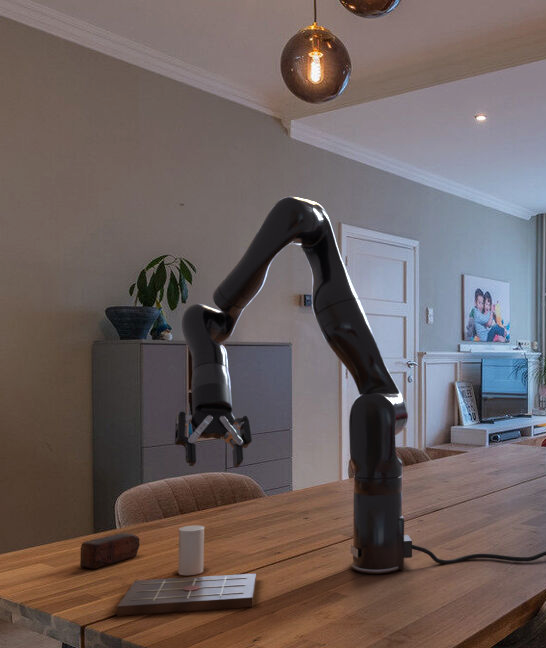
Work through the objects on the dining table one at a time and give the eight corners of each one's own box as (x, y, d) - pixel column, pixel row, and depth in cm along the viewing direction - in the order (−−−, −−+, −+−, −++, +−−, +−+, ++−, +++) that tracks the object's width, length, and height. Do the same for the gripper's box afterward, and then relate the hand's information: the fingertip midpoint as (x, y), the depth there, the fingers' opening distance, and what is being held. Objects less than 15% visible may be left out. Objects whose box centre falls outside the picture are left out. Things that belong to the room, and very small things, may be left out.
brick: (94, 570, 134) (95, 544, 135) (79, 567, 136) (80, 542, 136) (139, 556, 144) (140, 532, 144) (124, 553, 146) (125, 530, 146)
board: (256, 582, 128) (256, 572, 128) (252, 607, 115) (252, 596, 115) (134, 589, 124) (134, 579, 124) (116, 616, 111) (117, 605, 111)
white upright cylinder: (204, 567, 136) (205, 524, 137) (201, 574, 132) (202, 530, 132) (180, 569, 135) (180, 525, 136) (176, 576, 131) (177, 531, 131)
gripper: (180, 378, 141) (182, 455, 132) (252, 384, 148) (258, 457, 140) (169, 397, 145) (171, 472, 137) (239, 402, 153) (245, 474, 145)
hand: (215, 465), depth 139 cm, fingers open, 8 cm apart
